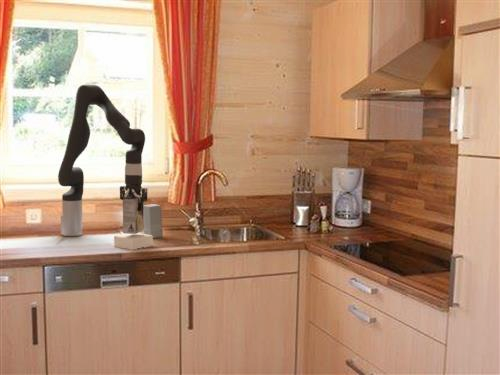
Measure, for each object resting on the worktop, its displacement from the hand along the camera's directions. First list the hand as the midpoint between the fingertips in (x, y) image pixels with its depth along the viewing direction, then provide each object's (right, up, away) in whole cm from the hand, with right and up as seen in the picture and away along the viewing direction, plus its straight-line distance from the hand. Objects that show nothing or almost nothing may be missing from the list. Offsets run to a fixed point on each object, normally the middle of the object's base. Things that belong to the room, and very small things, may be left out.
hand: (133, 210), depth 260 cm
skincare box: (+5, -14, +24) cm, 28 cm away
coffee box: (0, -10, +1) cm, 10 cm away
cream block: (0, -17, +2) cm, 17 cm away
